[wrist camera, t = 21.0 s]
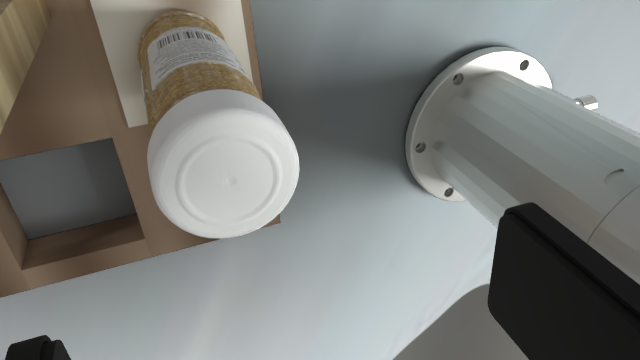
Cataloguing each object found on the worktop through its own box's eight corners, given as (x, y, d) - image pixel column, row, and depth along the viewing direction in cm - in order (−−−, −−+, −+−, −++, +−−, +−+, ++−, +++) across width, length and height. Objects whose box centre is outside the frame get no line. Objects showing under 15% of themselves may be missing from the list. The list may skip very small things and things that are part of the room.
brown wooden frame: (230, -59, 27) (344, 1, 14) (269, 199, 36) (360, 387, 23) (-216, -6, 22) (-712, 169, 9) (-41, 278, 31) (-156, 576, 18)
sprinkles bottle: (133, 89, 26) (143, 244, 15) (141, -2, 24) (158, 102, 13) (221, 99, 28) (286, 244, 17) (235, 16, 26) (318, 120, 15)
